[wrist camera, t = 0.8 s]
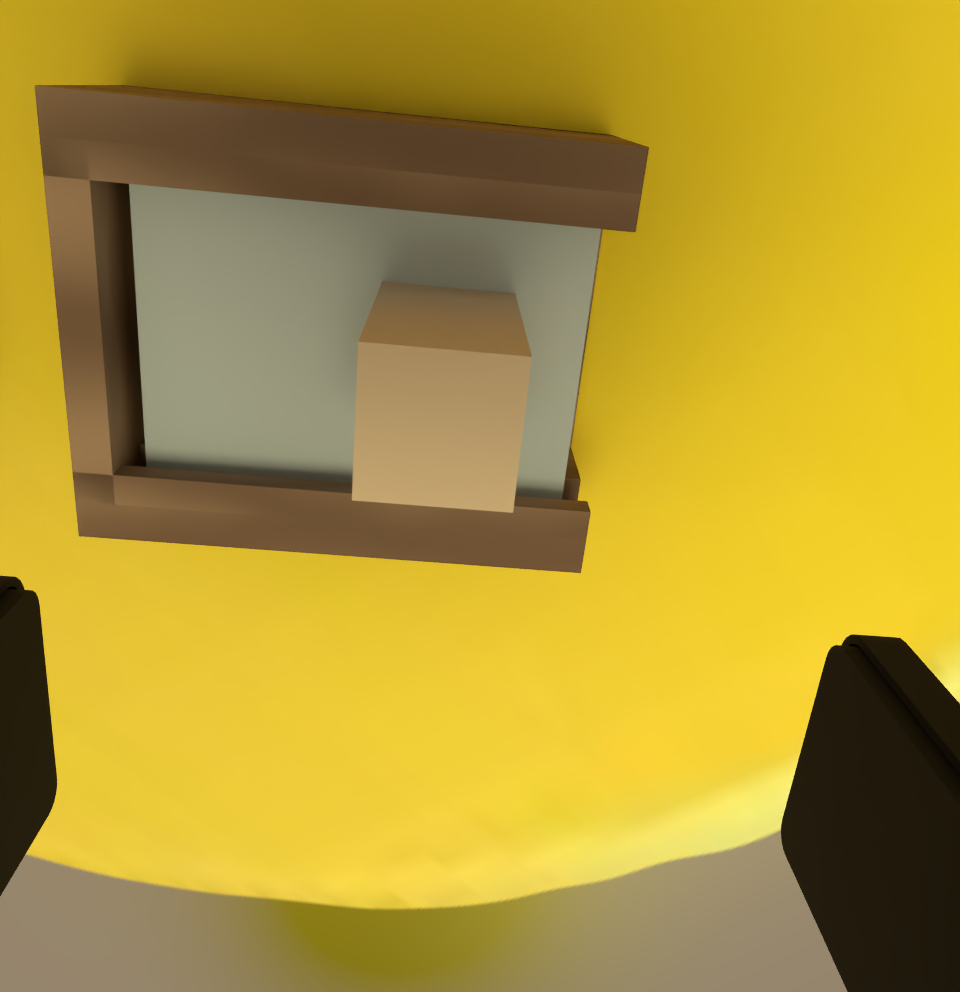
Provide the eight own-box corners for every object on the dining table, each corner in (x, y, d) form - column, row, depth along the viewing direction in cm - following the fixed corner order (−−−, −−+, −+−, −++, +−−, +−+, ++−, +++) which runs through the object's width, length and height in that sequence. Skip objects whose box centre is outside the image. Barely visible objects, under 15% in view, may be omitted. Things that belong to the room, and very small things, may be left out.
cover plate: (138, 151, 26) (15, 176, 19) (600, 196, 27) (651, 237, 20) (156, 462, 30) (60, 581, 23) (557, 493, 31) (587, 618, 24)
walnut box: (122, 85, 29) (34, 85, 23) (611, 135, 30) (648, 147, 24) (145, 457, 35) (78, 536, 29) (560, 490, 35) (580, 573, 29)
